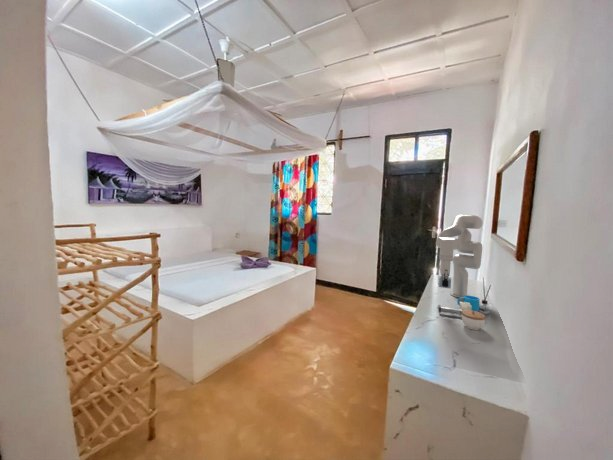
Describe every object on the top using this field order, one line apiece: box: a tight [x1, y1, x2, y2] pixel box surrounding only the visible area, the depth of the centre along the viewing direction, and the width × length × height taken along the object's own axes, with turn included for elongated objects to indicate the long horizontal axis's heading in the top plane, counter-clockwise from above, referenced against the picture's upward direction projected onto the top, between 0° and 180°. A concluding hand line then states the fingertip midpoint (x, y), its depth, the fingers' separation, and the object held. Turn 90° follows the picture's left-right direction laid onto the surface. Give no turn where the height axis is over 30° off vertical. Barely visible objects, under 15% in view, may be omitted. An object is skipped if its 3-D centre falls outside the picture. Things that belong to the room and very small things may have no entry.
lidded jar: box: [461, 310, 486, 331], centre depth 133 cm, size 11×11×9 cm
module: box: [437, 275, 452, 290], centre depth 157 cm, size 7×6×6 cm
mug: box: [456, 295, 480, 312], centre depth 158 cm, size 12×8×8 cm
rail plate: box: [436, 301, 472, 320], centre depth 151 cm, size 14×18×7 cm
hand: (444, 284), depth 157 cm, fingers closed on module, 6 cm apart
